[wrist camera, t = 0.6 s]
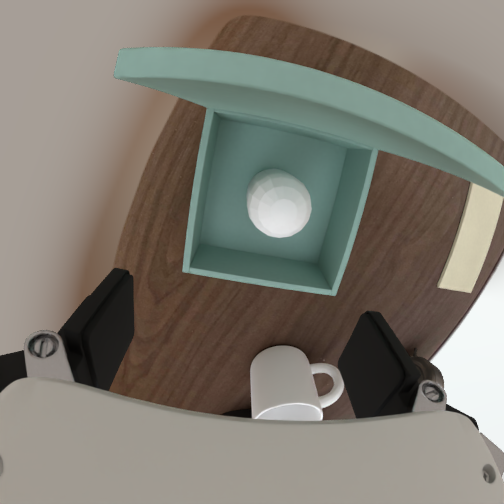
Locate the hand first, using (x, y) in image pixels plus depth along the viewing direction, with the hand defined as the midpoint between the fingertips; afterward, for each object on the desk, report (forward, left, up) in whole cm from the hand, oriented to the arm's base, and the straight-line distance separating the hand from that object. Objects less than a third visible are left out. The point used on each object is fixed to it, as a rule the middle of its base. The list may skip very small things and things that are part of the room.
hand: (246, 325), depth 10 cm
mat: (-5, +33, -19) cm, 39 cm away
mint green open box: (-2, +2, -19) cm, 20 cm away
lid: (-8, +2, -5) cm, 10 cm away
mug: (+20, +10, -20) cm, 30 cm away
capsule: (-2, +2, -19) cm, 19 cm away
